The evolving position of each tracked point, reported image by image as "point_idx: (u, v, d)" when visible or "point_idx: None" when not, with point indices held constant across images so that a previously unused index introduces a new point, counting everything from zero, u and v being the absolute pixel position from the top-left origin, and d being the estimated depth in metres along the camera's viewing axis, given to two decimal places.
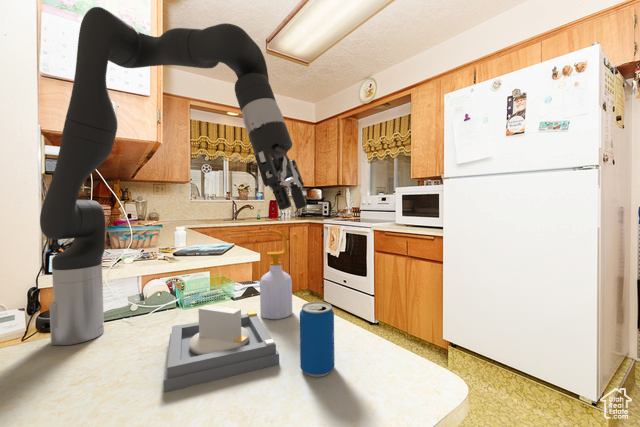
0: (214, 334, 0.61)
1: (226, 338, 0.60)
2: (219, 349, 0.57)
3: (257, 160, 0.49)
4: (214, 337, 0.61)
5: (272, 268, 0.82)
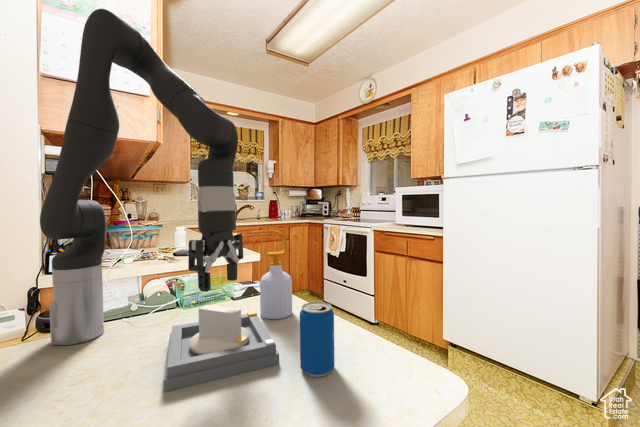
0: (214, 334, 0.61)
1: (226, 338, 0.60)
2: (219, 349, 0.57)
3: (189, 247, 0.55)
4: (214, 337, 0.61)
5: (272, 268, 0.82)
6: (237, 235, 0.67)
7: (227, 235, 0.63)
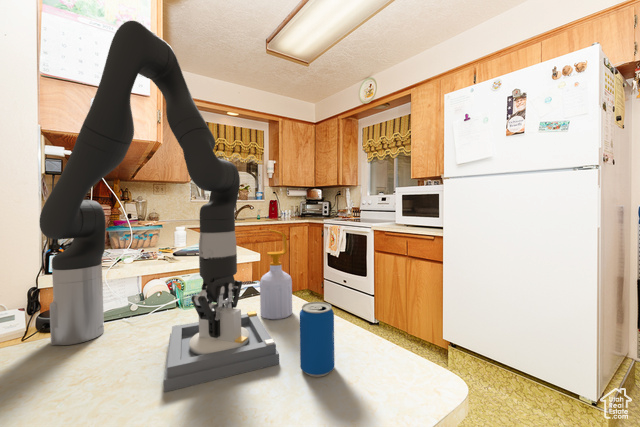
0: None
1: (226, 338, 0.60)
2: (219, 349, 0.57)
3: (193, 303, 0.56)
4: None
5: (272, 268, 0.82)
6: (238, 281, 0.67)
7: (228, 278, 0.63)
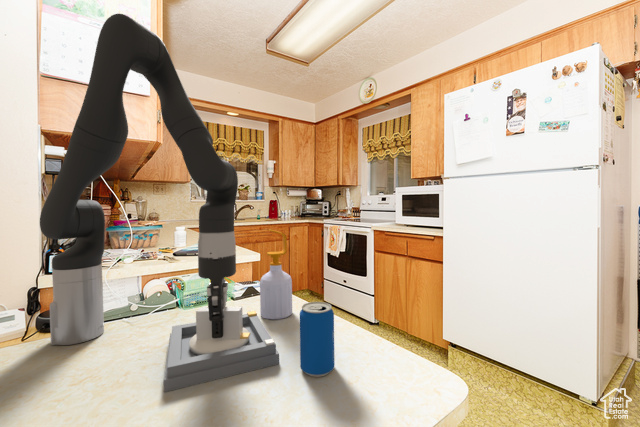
0: None
1: (230, 336, 0.61)
2: (230, 346, 0.58)
3: (209, 304, 0.55)
4: None
5: (272, 268, 0.82)
6: (223, 280, 0.67)
7: (223, 277, 0.64)
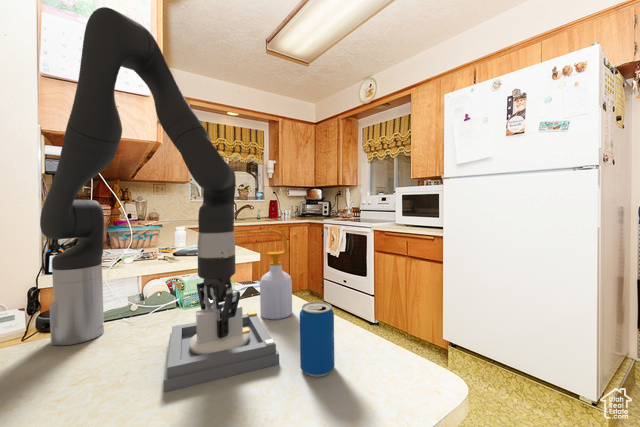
0: None
1: (234, 333, 0.62)
2: (242, 341, 0.60)
3: (229, 301, 0.57)
4: (219, 338, 0.61)
5: (272, 268, 0.82)
6: None
7: None
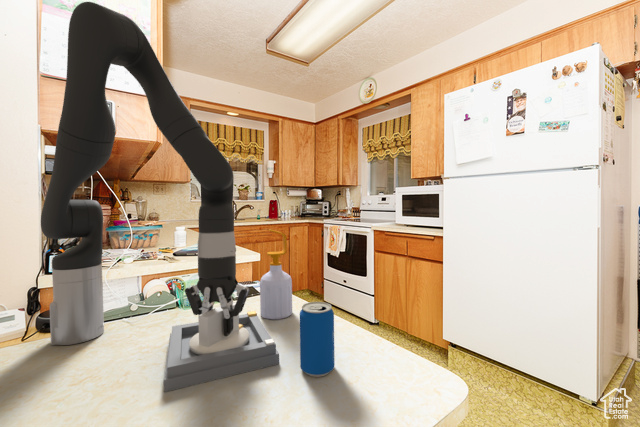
0: (223, 334, 0.61)
1: (233, 330, 0.64)
2: (247, 333, 0.63)
3: (244, 296, 0.60)
4: (223, 337, 0.61)
5: (272, 268, 0.82)
6: None
7: None
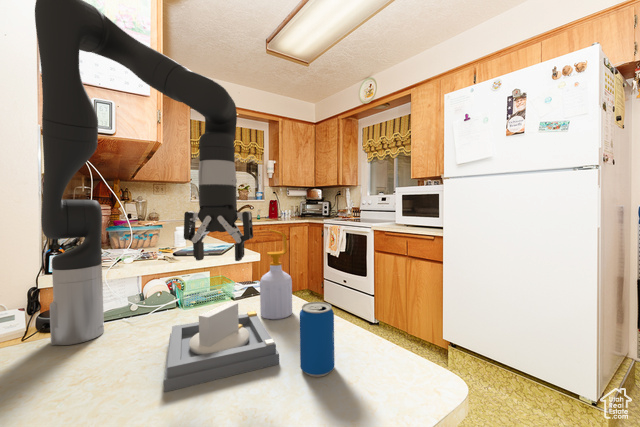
0: (223, 334, 0.61)
1: (233, 330, 0.64)
2: (247, 333, 0.63)
3: (248, 217, 0.60)
4: (223, 337, 0.61)
5: (272, 268, 0.82)
6: None
7: None
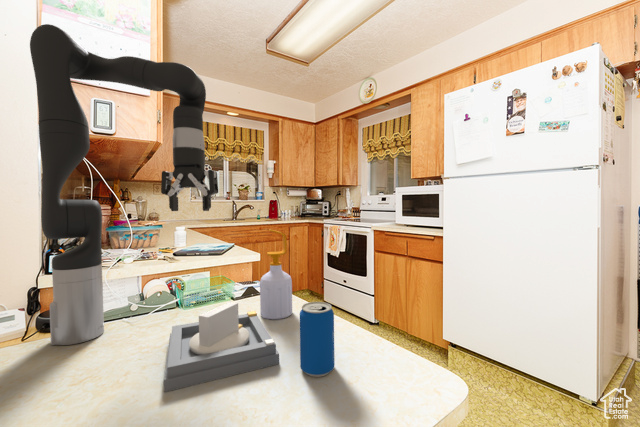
0: (223, 334, 0.61)
1: (233, 330, 0.64)
2: (247, 333, 0.63)
3: (213, 175, 0.74)
4: (223, 337, 0.61)
5: (272, 268, 0.82)
6: None
7: None
